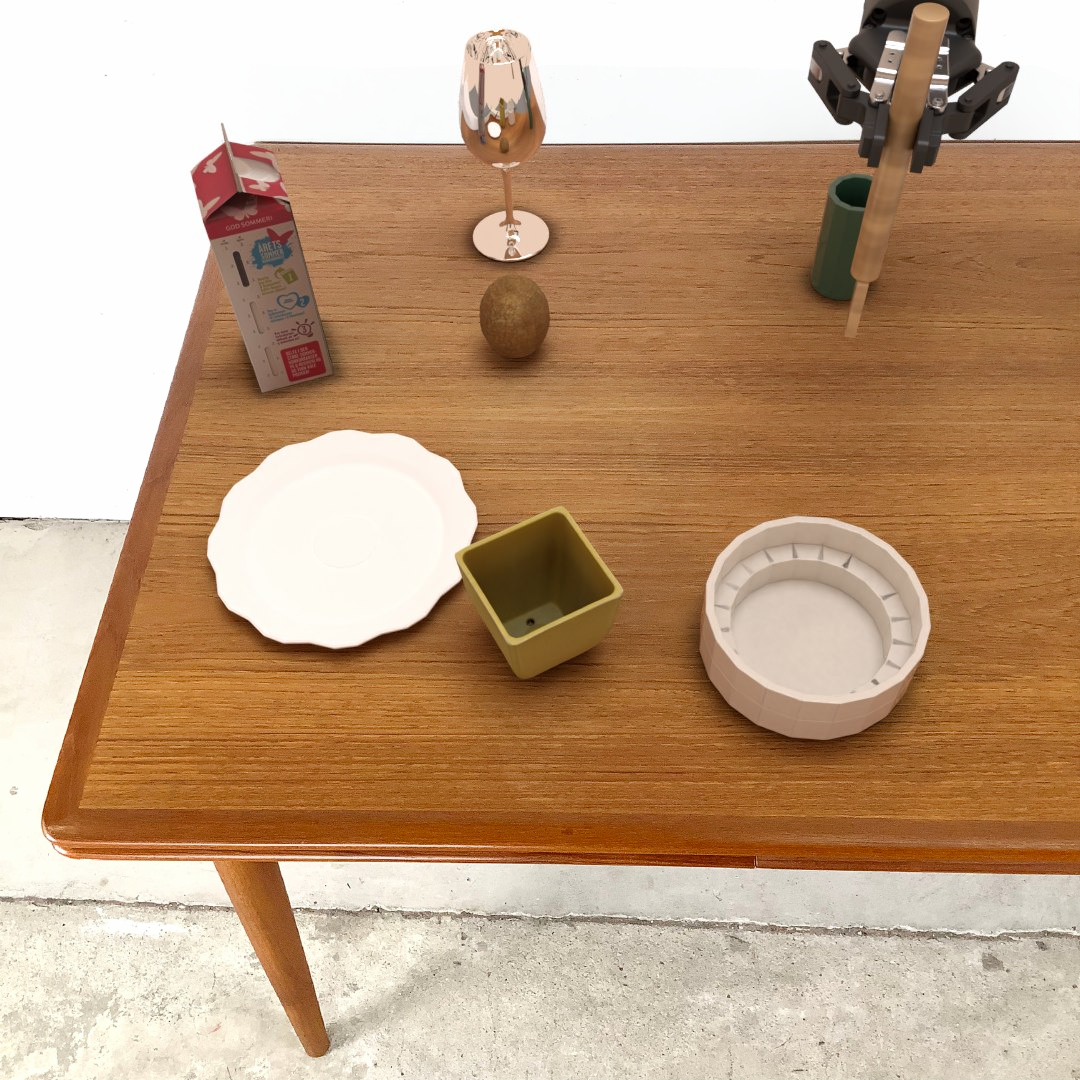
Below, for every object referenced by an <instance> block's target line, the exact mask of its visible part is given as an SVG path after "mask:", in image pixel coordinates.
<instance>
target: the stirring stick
mask: <svg viewBox="0 0 1080 1080" xmlns="http://www.w3.org/2000/svg"><path fill="white" fill-rule="evenodd" d="M948 18H949V11H948V9H947V8H946V7H944V6H942V5H940V4H936V3H922V4H919V5H917V6H916V7H915V8H914V9H913V13H912V17H911V21H910V25H909V29H908V34H907V38H906V42H905V46H904V50H903V54H902V59H901V63H900V67H899V71H898V75H897V79H896V83H895V88H894V92H893V96H892V100H891V104H890V108H889V119H888V125H887V131H886V137H885V142H884V146H883V150H882V155H881V159H880V163H879V167H878V168H874V171H873V175H872V176H873V179H872V183H871V187H870V191H869V196H868V200H867V204H866V208H865V212H864V216H863V221H862V225H861V229H860V233H859V237H858V241H857V245H856V250H855V254H854V258H853V262H852V266H851V275H852V276H853V277H854V278H855V279H856V283H855V287H854V291H853V295H852V299H850V303H849V308H848V311H847V316H846V323H845V328H844V335H843V337H844V338H849V339H850V338H851V339H856V337H857V333H858V329H859V325H860V321H861V317H862V313H863V309H864V306H865V303H866V302H865V301H866V297H867V294H868V290H869V287H870V283H871V282H874V281H876V280H878V278H879V277H880V274H881V271H882V267H883V263H884V260H885V256H886V252H887V249H888V245H889V241H890V237H891V234H892V230H893V226H894V222H895V219H896V216H897V212H898V207H899V204H900V200H901V197H902V193H903V189H904V186H905V181H906V179H907V174H908V172H909V168H910V164H911V158H912V151H913V146H914V143H915V139H916V135H917V131H918V128H919V124H920V120H921V117H922V115H923V111H924V108H925V104H926V100H927V96H928V93H929V89H930V85H931V81H932V78H933V74H934V70H935V67H936V63H937V59H938V55H939V52H940V48H941V44H942V41H943V37H944V33H945V29H946V26H947V22H948Z"/></svg>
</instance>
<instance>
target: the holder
mask: <svg viewBox="0 0 1080 1080" xmlns="http://www.w3.org/2000/svg"><path fill="white" fill-rule="evenodd" d="M872 179H873V175H871V174H866V173H855V172H853V173H848V174H842V175H840V176H837V177H836V178H834V180H832V181H831V182H830V183H829V184H828V188H827V194H826V198H825V203H824V209H823V214H822V217H821V218H822V219H821V223H820V228H819V233H818V238H817V242H816V243H817V244H816V247H815V252H814V257H813V261H812V266H811V274H810V285H811V287H813V289H814V291H816V292H817V293H818V294H820V295H821V296H823V297H824V298H828V299H831V300H835V301H847V300H851V299H852V295H853V291H854V287H855V283H856V279H855V278H854V277H853V276H852V275H851V266H852V262H853V258H854V254H855V250H856V245H857V241H858V237H859V233H860V229H861V225H862V221H863V216H864V212H865V208H866V204H867V200H868V196H869V191H870V187H871V183H872Z"/></svg>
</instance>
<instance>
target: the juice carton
mask: <svg viewBox="0 0 1080 1080" xmlns="http://www.w3.org/2000/svg"><path fill="white" fill-rule="evenodd" d="M220 126H221V131H222V135H223V141H224V142H222V144H220V145H218V147H216V148H215V149H214V150H213V151H211V152H210V153H209V154H208V155H206V156H205V157H204V158H203V159H201V160H200V161H199V162H197V163H196V165H195V166H193V167H192V169H191V170H190V175H191V179H192V184H193V188H194V191H195V196H196V200H197V203H198V208H199V212H200V215H201V219H202V224H203V226H204V230H205V232H206V235H207V238H208V241H209V244H210V246H211V250H212V253H213V255H214V259H215V261H216V264H217V267H218V271H219V272H220V276H221V279H222V282H223V284H224V288H225V290H226V293H227V296H228V300H229V302H230V305H231V308H232V311H233V314H234V316H235V320H236V322H237V325H238V328H239V331H240V334H241V337H242V340H243V342H244V345H245V346H244V347H245V348H246V351H247V354H248V357H249V360H250V363H251V367H252V369H253V372H254V374H255V377H256V380H257V383H258V386H259V389H260V392H261V393H267V392H270V391H274V390H279V389H281V388H282V389H283V388H285V387H289V386H293V385H297V384H302V383H305V382H309V381H312V380H315V379H320V378H324V377H328V376H331V375H335V374H336V373H335V368H334V365H333V362H332V361H333V360H332V358H331V354H330V350H329V347H328V342H327V339H326V335H325V331H324V327H323V324H322V320H321V316H320V313H319V308H318V304H317V301H316V296H315V293H314V290H313V286H312V282H311V279H310V278H311V277H310V274H309V271H308V265H307V263H306V258H305V255H304V251H303V247H302V243H301V240H300V236H299V232H298V228H297V225H296V221H295V217H294V216H295V215H294V213H293V208H292V206H291V202H290V197H289V195H288V192H287V190H286V186H285V183H284V180H283V177H282V174H281V170H280V167H279V165H278V161H277V159H276V155H275V152H274V151H272V150H269V149H267V148H263V147H259V146H253V145H249V144H244V143H240V142H234V141H229V139H228V135H227V131H226V128H225V125H224V122H221V123H220Z"/></svg>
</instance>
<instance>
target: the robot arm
mask: <svg viewBox="0 0 1080 1080" xmlns="http://www.w3.org/2000/svg"><path fill="white" fill-rule="evenodd" d="M922 3H936V4H940V5H942V6H944V7H946V8H947V9H948V11H949V18H948V22H947V26H946V29H945V33H944V37H943V41H942V44H941V48H940V52H939V55H938V59H937V63H936V67H935V70H934V74H933V78H932V81H931V85H930V89H929V93H928V96H927V100H926V104H925V108H924V111H923V115H922V117H921V120H920V124H919V128H918V131H917V135H916V139H915V143H914V146H913V151H912V156H911V160H910V164H909V173H910V174H911V173H913V174H918V175H922V172H923V170H924V167H930V168H931V167H933V166H934V165H935V163H936V161H937V158H938V154H939V151H940V147H941V144H942V138H943V135H948V137H949V138H951V139H952V140H957V141H963V140H965V139H967V138H968V137H970V136H971V135H972V134H973V133H974V132H975V131H977V130H978V129H979V128H980V127H982V126H983V125H984V124H986V123H987V122H988V121H989V120H990V119H992V118H993V117H994V116H995V115H997V113H998V112H1000V111H1001V110H1002V109H1004V108H1005V107H1006V106H1007V105H1008V104H1009V101H1010V100H1011V99H1010V98H1011V95H1012V93H1013V90H1014V87H1015V85H1016V81H1017V78H1018V75H1019V72H1020V69H1021V67H1020V65H1019V64H1018V63H1017V62H1014V61H1010V60H1006V61H1003V62H1001V63H999V64H998V65H997V66H996V67H994V66H992V65H989V64H987V63H985V62H983V54H982V52H981V50H980V49H979V47H977V45H976V39H977V38H976V37H977V27H978V18H979V17H978V16H979V7H980V0H864V3H863V7H862V8H863V9H862V16H861V20H860V26H859V31H858V33H857V34H856V35H855V36H853V37H852V38H851V39H850V41H849V42H848V45H847V46H846V47H840V48H836V47H834V45H833V44H832V42H831V41H829V40H826V39H819V40H815V41H814V42H813V45H812V51H811V57H810V61H809V69H808V75H807V81H808V83H809V84H810V86H811V87H812V89H813V90H814V92H815V93H816V94H817V96H818V98H819V99H820V100H821V102H822V104H823V105H824V107H825V108H826V109H827V111H828V113H829V114H830V115H831V117H832V118H833V120H834V122H836V124H837V125H840V126H850V125H852V124H854V123H856V124H858V125H859V126H860V128H861V132H860V139H859V144H858V149H857V154H858V156H859V158H861V159H867V163H866V168H873V169H875V168H878V167H879V163H880V159H881V155H882V150H883V146H884V142H885V137H886V131H887V125H888V119H889V108H890V104H891V100H892V96H893V92H894V88H895V83H896V79H897V75H898V71H899V67H900V63H901V59H902V54H903V50H904V46H905V42H906V38H907V34H908V29H909V25H910V21H911V17H912V13H913V9H914V8H915V7H916V6H917V5H919V4H922ZM972 84H973V85H972ZM971 85H972V86H971ZM862 86H863V87H864V88H865V89H866V90H867V91H868V92H867V91H864V90H862ZM969 86H971V87H969ZM967 87H969V88H968V89H967V90H966V91H965V92H963V93H961V95H959V96H958V97H957V100H956V101H949V98H950V97H952V96H953V95H956V94H957V93H959V92H960V91H962V90H964V89H965V88H967Z"/></svg>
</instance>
